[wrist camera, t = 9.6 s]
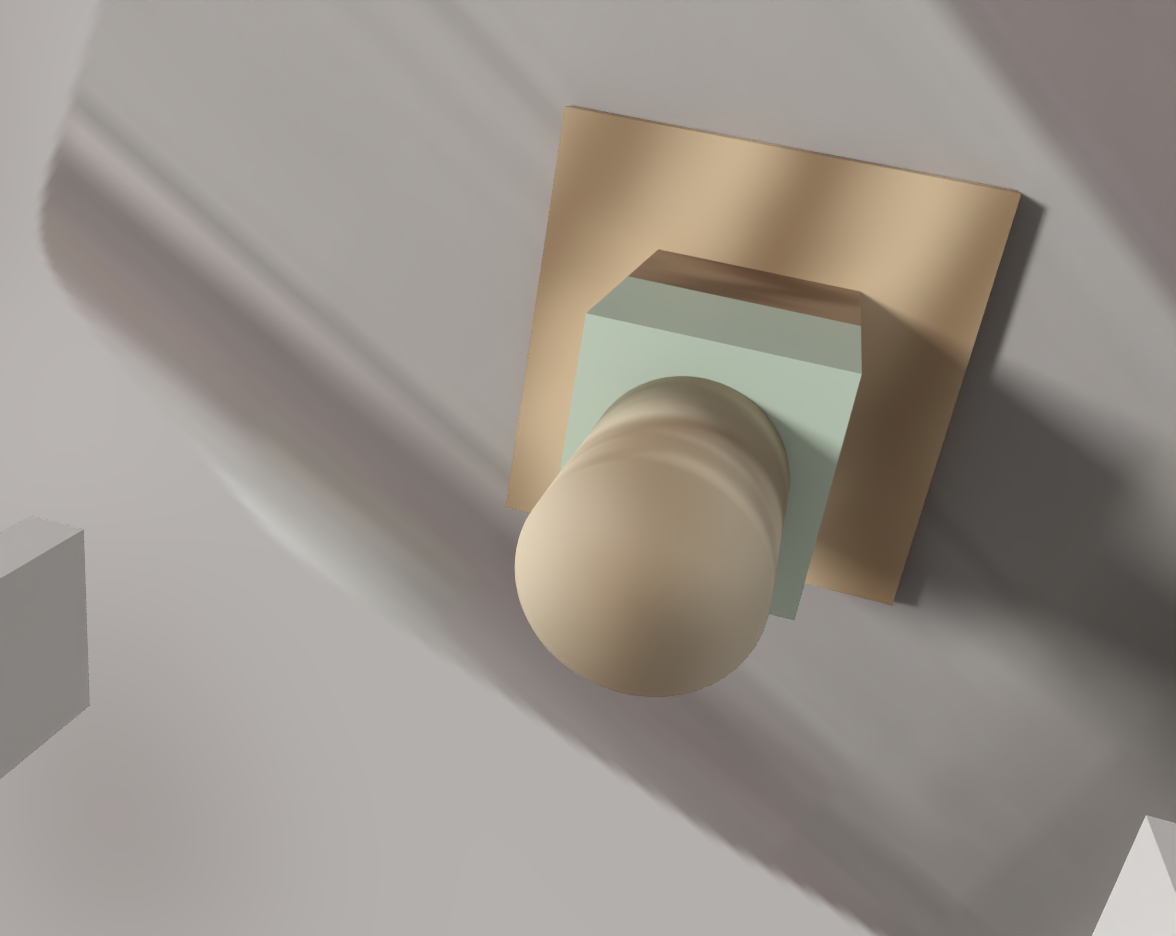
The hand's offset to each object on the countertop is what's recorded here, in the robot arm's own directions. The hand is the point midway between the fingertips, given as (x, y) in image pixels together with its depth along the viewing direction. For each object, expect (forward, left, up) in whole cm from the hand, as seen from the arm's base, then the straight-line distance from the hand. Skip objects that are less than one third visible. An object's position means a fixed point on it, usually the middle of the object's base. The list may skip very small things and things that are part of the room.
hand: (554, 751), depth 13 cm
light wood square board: (0, +1, -25) cm, 25 cm away
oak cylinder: (0, +1, -14) cm, 14 cm away
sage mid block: (0, +1, -19) cm, 19 cm away
